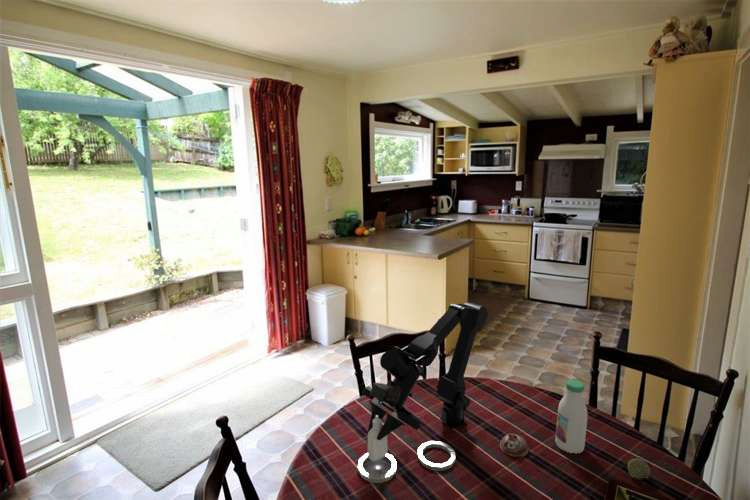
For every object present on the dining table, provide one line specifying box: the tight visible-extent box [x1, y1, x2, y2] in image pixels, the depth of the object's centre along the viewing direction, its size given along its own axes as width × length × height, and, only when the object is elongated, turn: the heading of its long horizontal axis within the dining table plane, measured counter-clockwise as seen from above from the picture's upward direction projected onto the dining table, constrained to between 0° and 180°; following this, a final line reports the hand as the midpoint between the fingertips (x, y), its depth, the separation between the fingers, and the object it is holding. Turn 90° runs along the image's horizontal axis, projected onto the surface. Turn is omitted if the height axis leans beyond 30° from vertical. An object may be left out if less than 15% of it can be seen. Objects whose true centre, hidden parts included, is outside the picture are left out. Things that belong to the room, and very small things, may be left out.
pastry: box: [499, 433, 530, 458], centre depth 116 cm, size 8×8×5 cm
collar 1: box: [357, 452, 398, 484], centre depth 109 cm, size 10×10×1 cm
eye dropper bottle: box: [367, 415, 388, 461], centre depth 107 cm, size 4×6×12 cm
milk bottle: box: [554, 379, 588, 455], centre depth 115 cm, size 8×8×20 cm
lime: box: [627, 457, 651, 480], centre depth 105 cm, size 4×5×5 cm
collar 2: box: [417, 440, 457, 472], centre depth 113 cm, size 10×10×1 cm
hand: (373, 436), depth 106 cm, fingers closed on eye dropper bottle, 3 cm apart
